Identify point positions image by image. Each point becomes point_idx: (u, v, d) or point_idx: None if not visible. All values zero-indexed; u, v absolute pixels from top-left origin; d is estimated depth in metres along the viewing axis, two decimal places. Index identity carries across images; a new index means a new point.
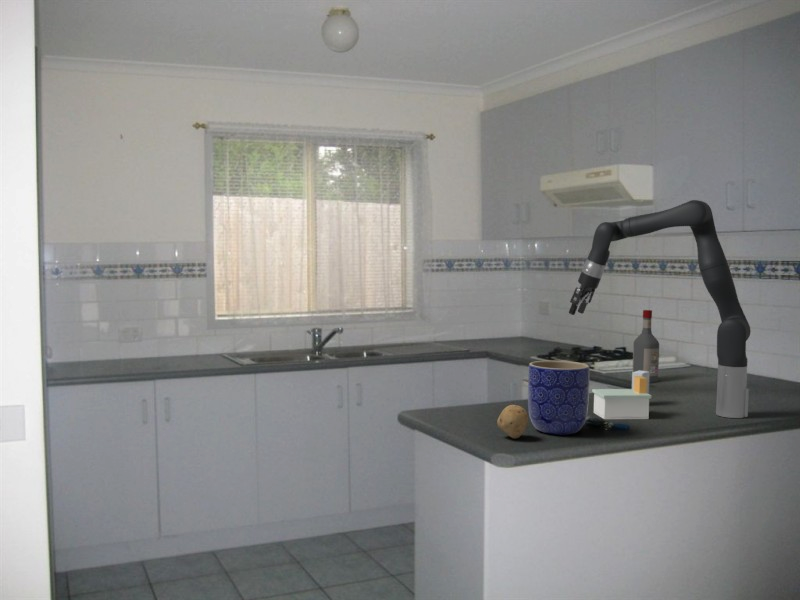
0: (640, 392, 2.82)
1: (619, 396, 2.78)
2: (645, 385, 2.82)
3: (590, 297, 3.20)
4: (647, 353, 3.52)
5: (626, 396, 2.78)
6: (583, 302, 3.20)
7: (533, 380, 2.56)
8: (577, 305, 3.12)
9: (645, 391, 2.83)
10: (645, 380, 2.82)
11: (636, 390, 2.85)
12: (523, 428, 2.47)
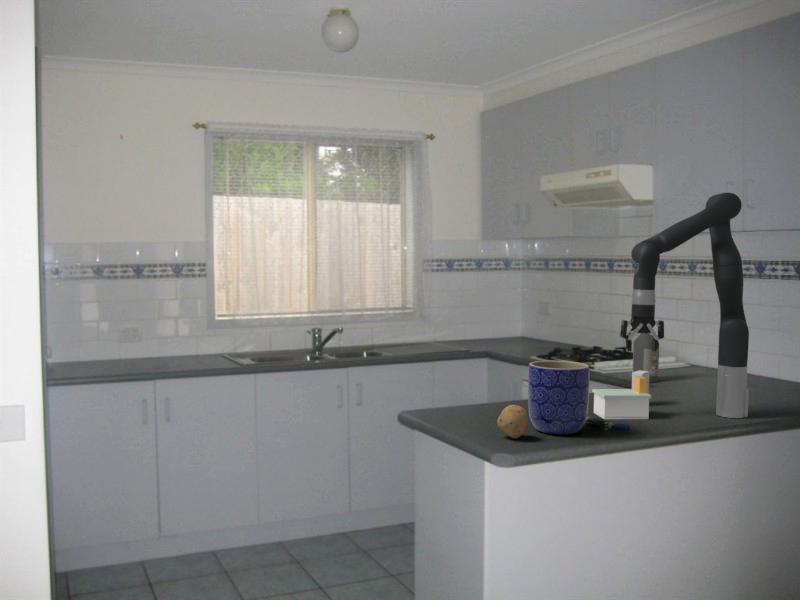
0: (640, 392, 2.82)
1: (619, 396, 2.78)
2: (645, 385, 2.82)
3: None
4: (647, 353, 3.52)
5: (626, 396, 2.78)
6: None
7: (533, 380, 2.55)
8: None
9: (645, 391, 2.83)
10: (645, 380, 2.82)
11: (636, 390, 2.85)
12: (523, 428, 2.47)
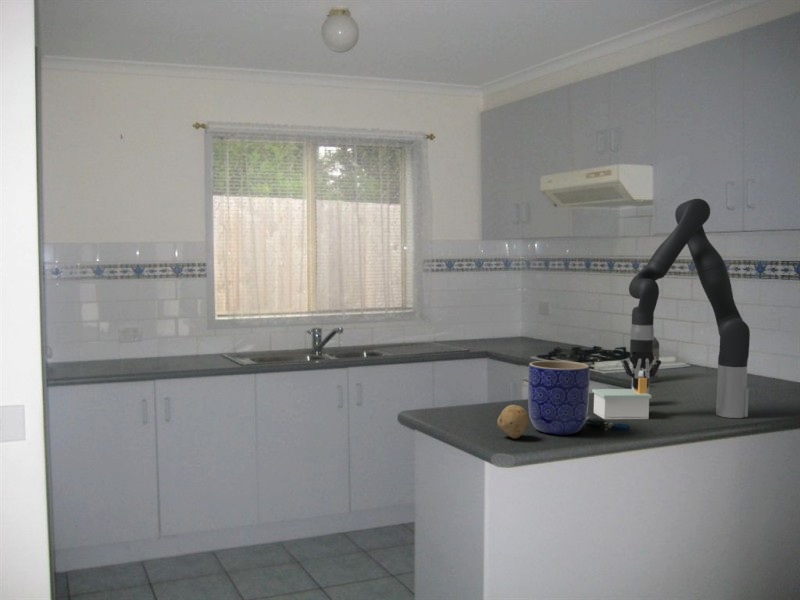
0: (640, 392, 2.82)
1: (619, 396, 2.78)
2: (645, 385, 2.82)
3: None
4: None
5: (626, 396, 2.78)
6: None
7: (533, 380, 2.56)
8: (645, 376, 2.86)
9: (645, 391, 2.83)
10: (645, 380, 2.82)
11: (636, 390, 2.85)
12: (523, 428, 2.47)
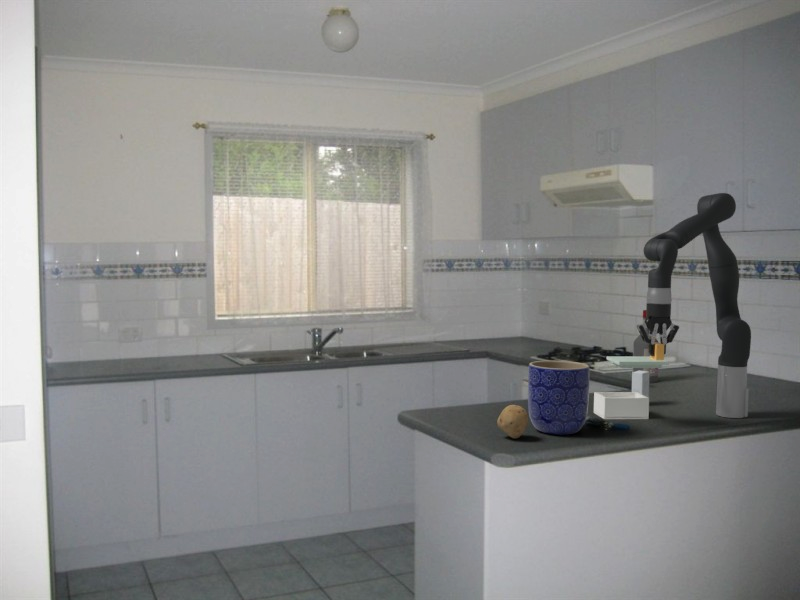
0: (657, 359, 2.69)
1: (635, 362, 2.64)
2: (662, 351, 2.69)
3: None
4: (647, 353, 3.52)
5: (642, 362, 2.65)
6: None
7: (533, 380, 2.55)
8: None
9: (662, 358, 2.69)
10: (662, 346, 2.69)
11: (653, 357, 2.71)
12: (523, 428, 2.47)
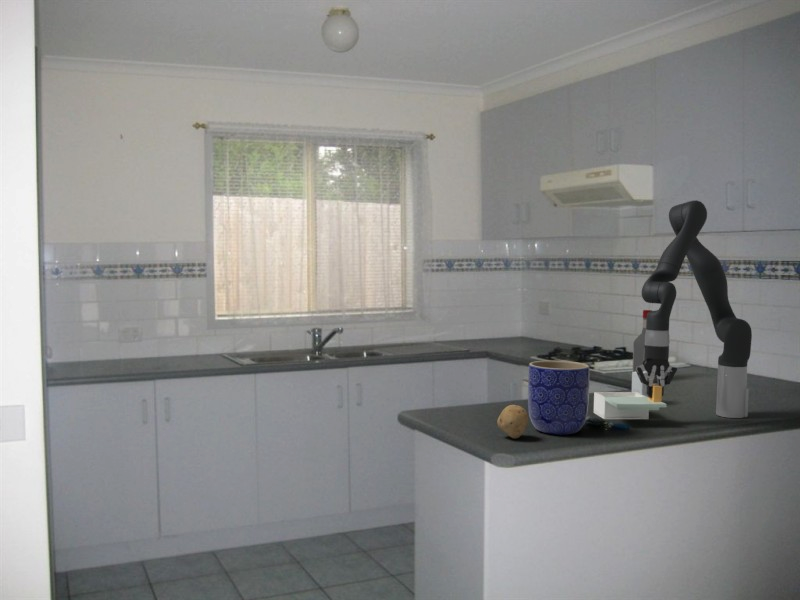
0: (655, 401, 2.70)
1: (633, 405, 2.66)
2: (660, 393, 2.70)
3: None
4: None
5: (640, 405, 2.66)
6: None
7: (533, 380, 2.56)
8: None
9: (660, 400, 2.70)
10: (660, 388, 2.70)
11: (650, 398, 2.72)
12: (523, 428, 2.47)
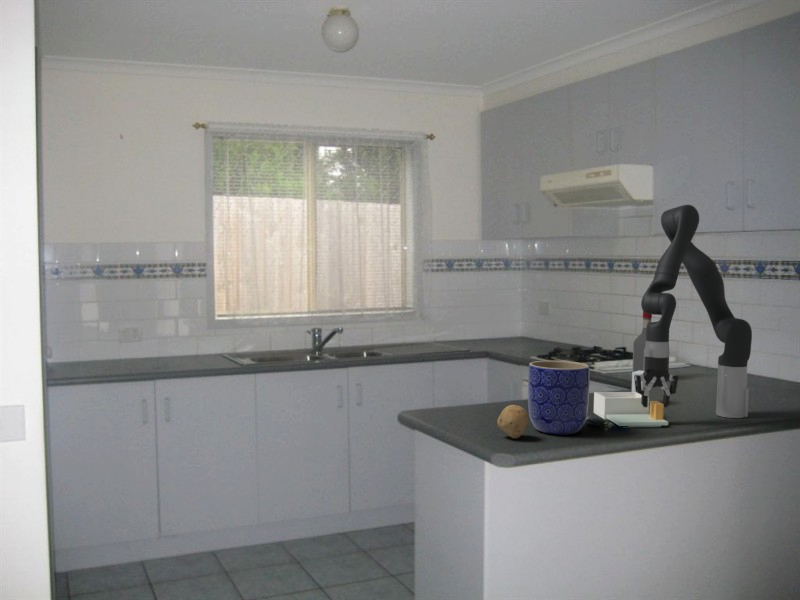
0: (656, 418, 2.70)
1: (634, 423, 2.66)
2: (661, 411, 2.70)
3: None
4: None
5: (642, 423, 2.66)
6: None
7: (533, 380, 2.56)
8: None
9: (661, 417, 2.70)
10: (661, 406, 2.70)
11: (652, 416, 2.72)
12: (523, 428, 2.47)
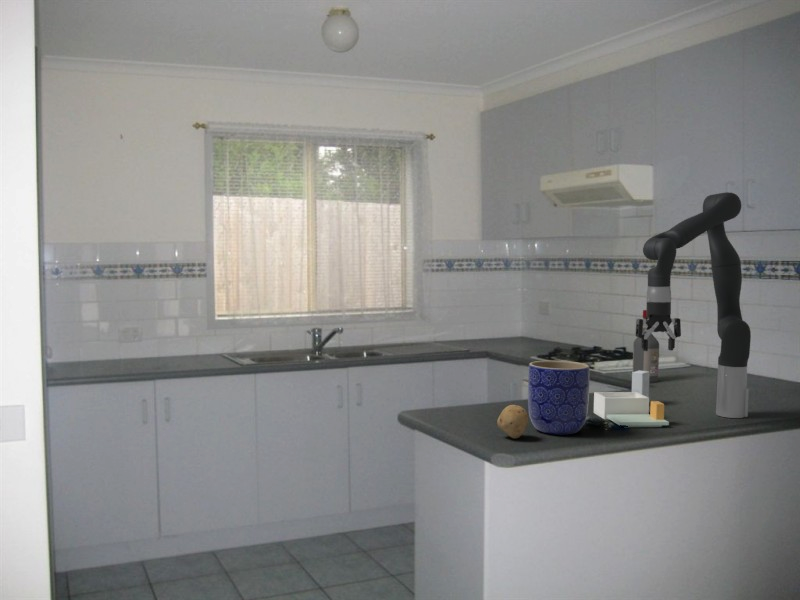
0: (657, 418, 2.70)
1: (635, 423, 2.66)
2: (662, 411, 2.70)
3: None
4: (647, 353, 3.52)
5: (643, 423, 2.66)
6: None
7: (533, 380, 2.56)
8: None
9: (662, 417, 2.70)
10: (662, 406, 2.70)
11: (653, 416, 2.73)
12: (523, 428, 2.47)
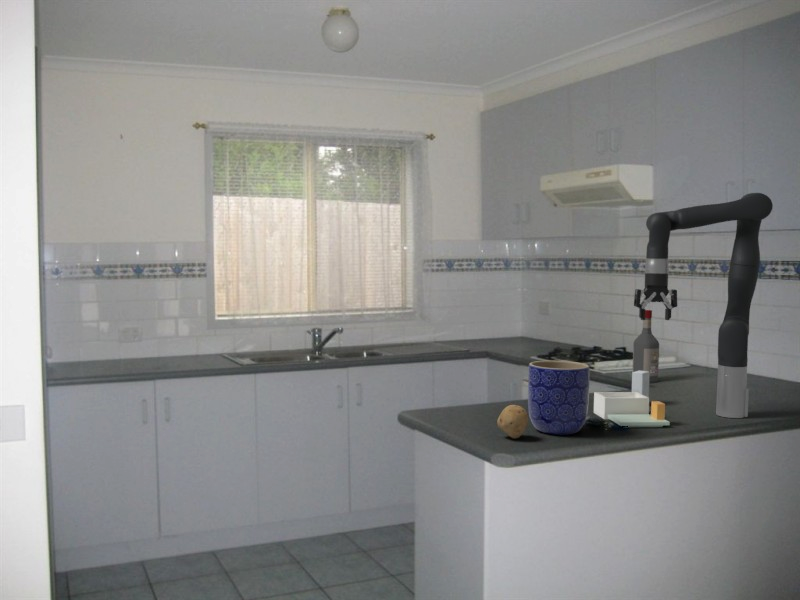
0: (658, 418, 2.70)
1: (636, 423, 2.66)
2: (663, 411, 2.70)
3: None
4: (647, 353, 3.52)
5: (643, 423, 2.66)
6: None
7: (533, 380, 2.55)
8: None
9: (663, 417, 2.70)
10: (663, 406, 2.70)
11: (653, 416, 2.72)
12: (523, 428, 2.47)
